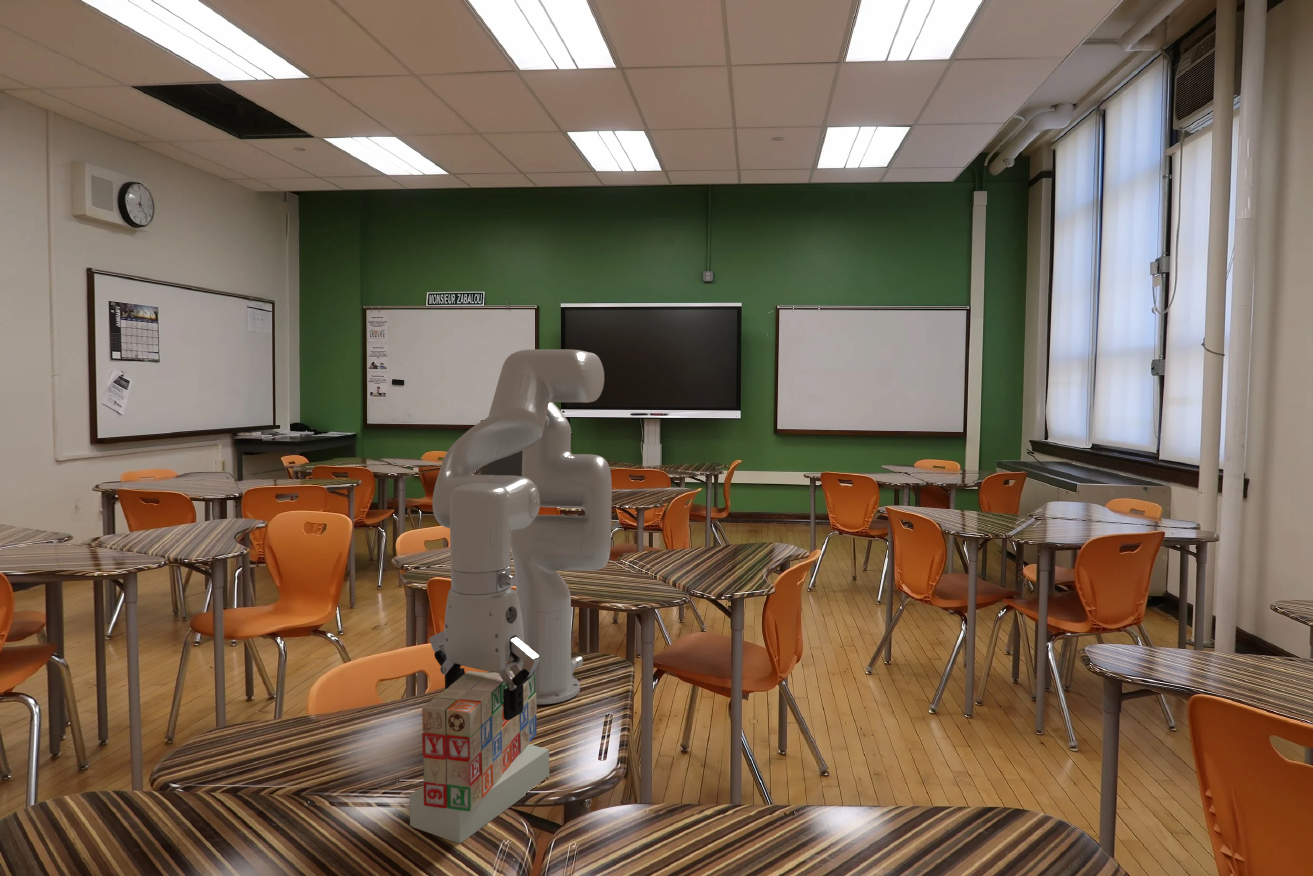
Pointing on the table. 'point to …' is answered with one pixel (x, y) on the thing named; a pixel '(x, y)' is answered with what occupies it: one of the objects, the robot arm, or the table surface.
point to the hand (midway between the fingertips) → (483, 708)
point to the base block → (482, 799)
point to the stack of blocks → (472, 739)
